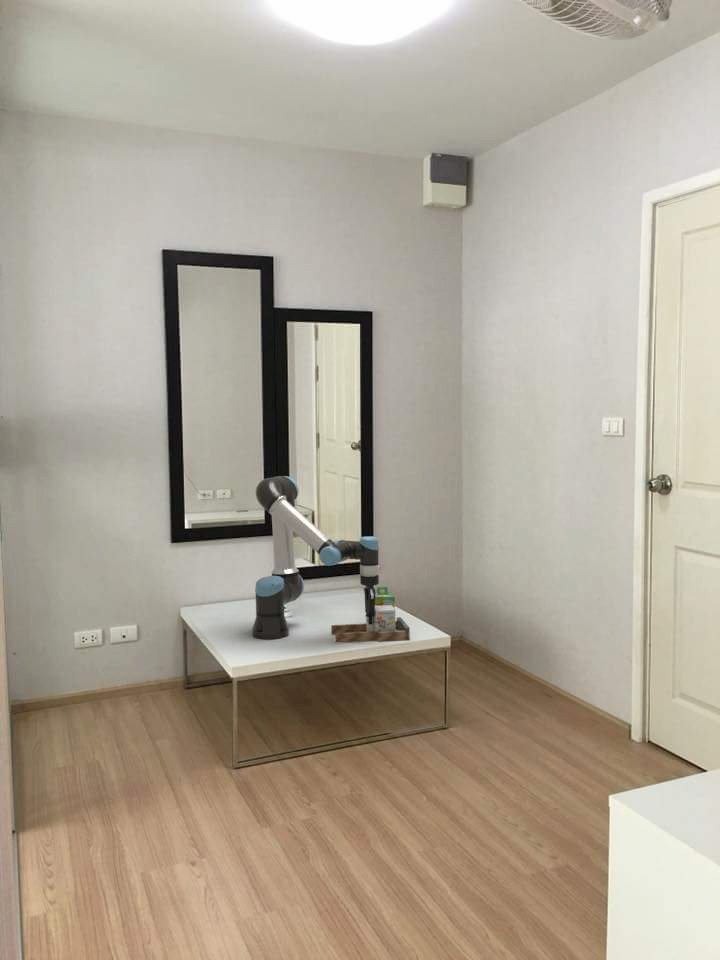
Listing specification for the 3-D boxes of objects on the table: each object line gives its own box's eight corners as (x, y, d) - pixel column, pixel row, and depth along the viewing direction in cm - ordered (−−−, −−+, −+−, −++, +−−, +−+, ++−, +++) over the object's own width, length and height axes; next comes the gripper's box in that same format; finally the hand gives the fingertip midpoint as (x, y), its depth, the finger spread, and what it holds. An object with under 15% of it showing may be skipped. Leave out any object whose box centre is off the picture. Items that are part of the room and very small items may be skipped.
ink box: (375, 638, 331) (375, 610, 330) (371, 633, 339) (371, 605, 338) (396, 637, 332) (395, 609, 331) (392, 632, 341) (392, 604, 340)
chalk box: (374, 623, 355) (373, 590, 353) (370, 618, 364) (370, 585, 362) (395, 622, 356) (394, 589, 355) (391, 617, 365) (390, 584, 364)
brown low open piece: (336, 643, 324) (336, 631, 324) (330, 632, 341) (330, 620, 340) (409, 639, 329) (409, 627, 329) (400, 628, 346) (400, 617, 345)
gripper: (381, 577, 327) (381, 635, 329) (375, 571, 340) (376, 626, 342) (363, 578, 326) (363, 636, 328) (357, 571, 339) (358, 627, 341)
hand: (369, 631), depth 335 cm, fingers closed
